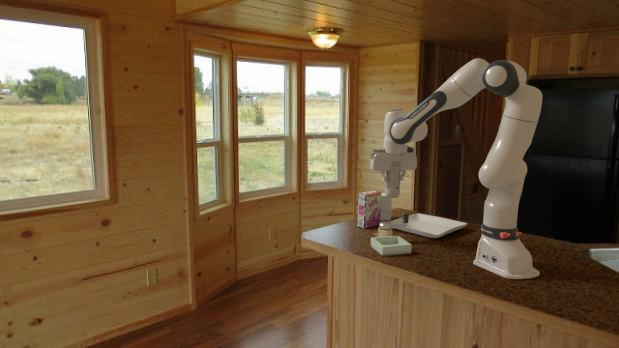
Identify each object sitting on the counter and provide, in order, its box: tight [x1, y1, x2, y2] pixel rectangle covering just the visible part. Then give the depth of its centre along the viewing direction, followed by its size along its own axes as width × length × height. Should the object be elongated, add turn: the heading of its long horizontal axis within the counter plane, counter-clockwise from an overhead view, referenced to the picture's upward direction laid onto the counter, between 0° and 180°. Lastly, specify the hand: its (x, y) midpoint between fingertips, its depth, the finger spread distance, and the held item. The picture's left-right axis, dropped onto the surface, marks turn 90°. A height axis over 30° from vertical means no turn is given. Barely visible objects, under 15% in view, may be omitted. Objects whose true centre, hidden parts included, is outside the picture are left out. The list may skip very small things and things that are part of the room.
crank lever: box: [378, 212, 410, 230], centre depth 179 cm, size 13×5×6 cm, turn 102°
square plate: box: [388, 212, 468, 239], centre depth 197 cm, size 27×27×4 cm
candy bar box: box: [356, 190, 382, 230], centre depth 201 cm, size 11×5×16 cm, turn 130°
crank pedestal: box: [372, 227, 394, 237], centre depth 183 cm, size 14×6×6 cm, turn 14°
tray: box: [370, 235, 412, 257], centre depth 169 cm, size 12×12×4 cm
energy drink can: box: [384, 163, 402, 199], centre depth 181 cm, size 6×6×15 cm
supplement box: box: [380, 192, 393, 221], centre depth 214 cm, size 7×7×13 cm
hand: (393, 180), depth 181 cm, fingers closed on energy drink can, 6 cm apart
